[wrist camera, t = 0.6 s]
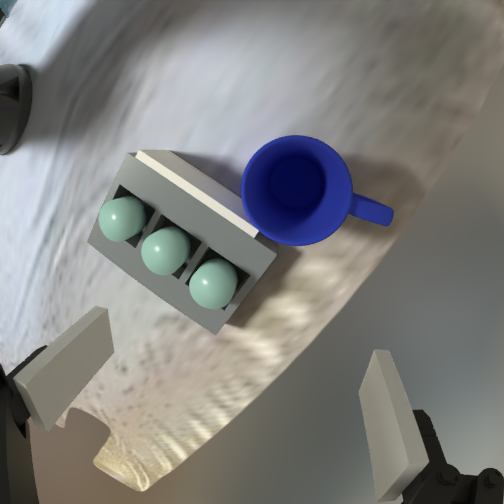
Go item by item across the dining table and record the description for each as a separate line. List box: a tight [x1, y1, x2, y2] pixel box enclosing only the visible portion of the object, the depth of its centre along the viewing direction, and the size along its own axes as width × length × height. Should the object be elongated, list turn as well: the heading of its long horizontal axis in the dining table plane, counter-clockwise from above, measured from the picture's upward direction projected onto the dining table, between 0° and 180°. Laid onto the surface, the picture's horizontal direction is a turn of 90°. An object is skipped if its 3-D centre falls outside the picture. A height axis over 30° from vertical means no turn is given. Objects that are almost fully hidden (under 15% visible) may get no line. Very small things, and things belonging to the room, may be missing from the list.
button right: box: [189, 258, 238, 309], centre depth 31 cm, size 4×4×3 cm
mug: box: [241, 135, 393, 246], centre depth 26 cm, size 8×12×10 cm
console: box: [87, 153, 279, 335], centre depth 33 cm, size 19×12×3 cm, turn 56°
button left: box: [99, 196, 147, 242], centre depth 31 cm, size 4×4×3 cm
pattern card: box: [135, 150, 259, 238], centre depth 29 cm, size 13×1×7 cm, turn 56°
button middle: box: [141, 226, 191, 276], centre depth 31 cm, size 4×4×3 cm
